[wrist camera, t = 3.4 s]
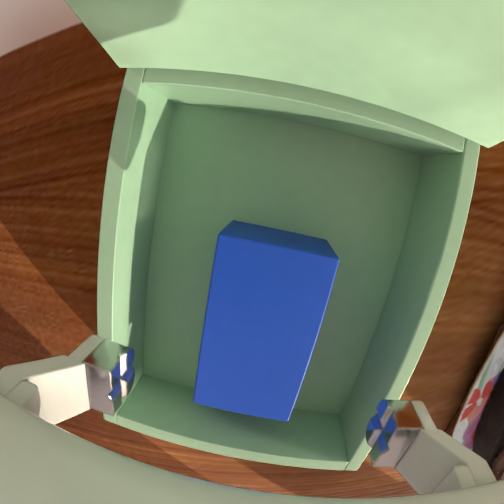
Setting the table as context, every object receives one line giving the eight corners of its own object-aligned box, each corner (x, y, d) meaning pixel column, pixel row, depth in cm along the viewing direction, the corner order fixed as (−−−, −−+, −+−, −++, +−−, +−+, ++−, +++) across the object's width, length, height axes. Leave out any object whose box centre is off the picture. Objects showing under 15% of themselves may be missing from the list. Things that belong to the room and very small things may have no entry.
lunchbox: (345, 416, 18) (357, 471, 13) (135, 372, 19) (103, 419, 14) (431, 146, 14) (481, 140, 9) (168, 90, 15) (127, 63, 10)
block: (287, 380, 17) (288, 422, 13) (207, 363, 17) (192, 403, 14) (327, 239, 15) (340, 258, 11) (232, 219, 15) (218, 232, 12)
